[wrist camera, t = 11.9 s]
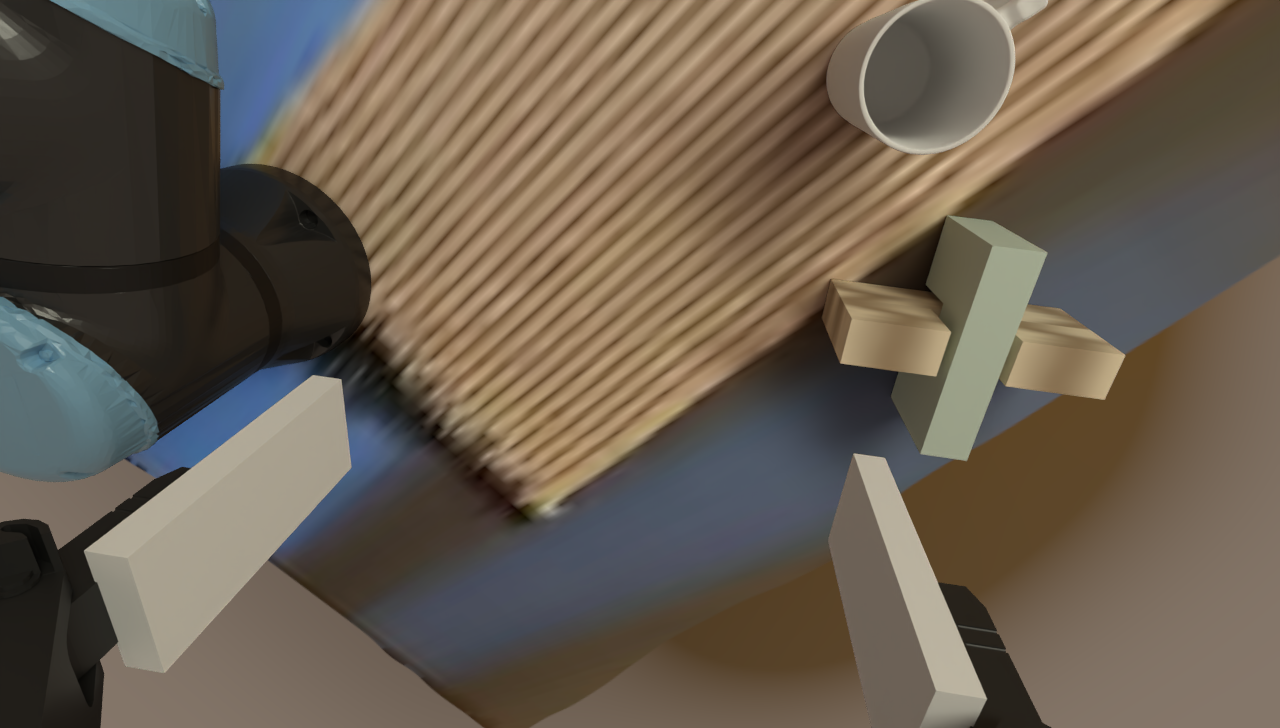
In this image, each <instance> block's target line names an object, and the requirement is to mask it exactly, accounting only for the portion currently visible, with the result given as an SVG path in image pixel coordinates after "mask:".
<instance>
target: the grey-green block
mask: <svg viewBox="0 0 1280 728" xmlns="http://www.w3.org/2000/svg"><path fill="white" fill-rule="evenodd" d="M1046 255H1047V252H1046V251H1044V250H1042V249H1040V248H1039V247H1037V246H1035V245H1033V244H1032V243H1030V242H1028V241H1026V240H1025V239H1023V238H1021V237H1019V236H1018V235H1016V234H1014V233H1012V232H1011V231H1009V230H1007V229H1005V228H1004V227H1002V226H1000V225H998V224H997V223H995V222H993V221H988V220H979V219H971V218H963V217H955V216H947V217H946V220H945V223H944V227H943V230H942V233H941V236H940V240H939V243H938V246H937V249H936V252H935V256H934V259H933V262H932V265H931V269H930V272H929V275H928V278H927V281H926V286H927V287H928V288H929V289H930V290H931V291H932V292H933V293H934V294H935V295H936V296H937V297H938V298H939V299H940V300H941V301H942V303H943V306H942V310H941V313H940V316H939V319H940V320H941V321H942V322H943V323H944V324H945V325H946V327H947V328H948V329H949V330H950V331H951V334H950V337H949V340H948V343H947V346H946V349H945V352H944V355H943V358H942V361H941V364H940V367H939V370H938V373H937V376H928V375H921V374H914V373H906V372H898V375H897V378H896V381H895V385H894V388H893V391H892V394H891V398H892V400H893V402H894V404H895V406H896V408H897V410H898V412H899V414H900V416H901V418H902V420H903V422H904V424H905V426H906V427H907V429H908V431H909V433H910V435H911V437H912V439H913V441H914V443H915V445H916V447H917V449H918V451H919V453H920V454H924V455H931V456H938V457H945V458H951V459H958V460H966V461H967V459H968V456H969V454H970V451H971V449H972V446H973V443H974V441H975V438H976V436H977V433H978V430H979V428H980V425H981V423H982V420H983V418H984V415H985V412H986V410H987V407H988V405H989V402H990V400H991V397H992V394H993V392H994V389H995V387H996V384H997V382H998V379H999V376H1000V374H1001V371H1002V369H1003V366H1004V364H1005V361H1006V358H1007V356H1008V353H1009V351H1010V348H1011V345H1012V343H1013V340H1014V338H1015V335H1016V333H1017V330H1018V327H1019V325H1020V322H1021V320H1022V317H1023V315H1024V312H1025V309H1026V307H1027V304H1028V302H1029V299H1030V297H1031V294H1032V291H1033V289H1034V286H1035V284H1036V281H1037V278H1038V276H1039V273H1040V271H1041V268H1042V266H1043V263H1044V260H1045V258H1046Z"/></svg>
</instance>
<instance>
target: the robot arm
mask: <svg viewBox="0 0 1280 728" xmlns="http://www.w3.org/2000/svg"><path fill="white" fill-rule="evenodd" d="M220 89H221V90H224V82H223V79H222V78H221V76H220V75H219V69H218V52H217V35H216V20H215V14H214V11H213V8H212V5H211V3H210V1H209V0H0V472H3V473H6V474H9V475H13V476H16V477H20V478H25V479H30V480H35V481H47V482H66V481H74V480H80V479H84V478H87V477H90V476H94V475H96V474H98V473H100V472H102V471H104V470H106V469H107V468H109V467H111V466H113V465H114V464H116V463H118V462H119V461H121V460H123V459H125V458H126V457H128V456H130V455H132V454H134V453H139V452H141V451H143V450H147V449H148V448H150V447H151V446H152V445H153V444H155V442H156V441H157V440H159V439H160V438H162V437H163V436H165V435H166V434H167V433H169V432H170V431H172V430H173V429H175V428H176V427H177V426H179V425H180V424H182V423H183V422H185V421H186V420H188V419H189V418H190V417H192V416H193V415H195V414H196V413H198V412H199V411H201V410H202V409H203V408H205V407H206V406H208V405H209V404H211V403H212V402H213V401H215V400H216V399H218V398H219V397H221V396H222V395H224V394H225V393H226V392H228V391H229V390H231V389H232V388H234V387H235V386H237V385H238V384H239V383H241V382H242V381H244V380H245V379H247V378H248V377H249V376H251V375H252V374H254V373H255V372H257V371H258V370H261V369H266V368H271V367H276V366H282V365H287V364H292V363H298V362H303V361H307V360H311V359H314V358H316V357H319V356H321V355H323V354H325V353H327V352H329V351H330V350H332V349H333V348H335V347H336V346H337V345H339V344H340V343H342V342H343V341H344V340H346V339H347V338H348V337H349V336H350V335H352V334H353V332H354V331H355V330H356V329H357V328H358V326H359V325H360V323H361V322H362V320H363V318H364V316H365V314H366V311H367V308H368V305H369V300H370V294H371V275H370V268H369V263H368V259H367V255H366V253H365V250H364V247H363V245H362V242H361V240H360V238H359V236H358V234H357V232H356V230H355V229H354V227H353V225H352V224H351V222H350V221H349V219H348V218H347V217H346V215H345V214H344V213H343V212H342V210H341V209H340V208H339V207H338V206H337V205H336V204H335V203H334V202H333V201H332V200H331V199H330V198H329V197H328V196H327V195H326V194H325V193H324V192H322V191H321V190H320V189H318V188H317V187H316V186H314V185H313V184H311V183H310V182H308V181H307V180H305V179H303V178H301V177H300V176H297V175H295V174H293V173H291V172H288V171H286V170H283V169H280V168H277V167H272V166H268V165H261V164H242V165H236V166H231V167H226V168H221V169H220ZM350 469H351V460H350V451H349V442H348V434H347V425H346V416H345V408H344V399H343V390H342V381H341V379H335V378H329V377H322V376H315V375H312V376H311V377H310V378H309V379H307V380H306V381H305V382H303V383H302V384H301V385H299V386H298V387H297V388H295V389H294V390H293V391H292V392H290V393H289V394H288V395H286V396H285V397H284V398H282V399H281V400H280V401H279V402H277V403H276V404H275V405H273V406H272V407H271V408H269V409H268V410H267V411H265V412H264V413H263V414H262V415H260V416H259V417H258V418H256V419H255V420H254V421H252V422H251V423H250V424H249V425H247V426H246V427H245V428H243V429H242V430H241V431H239V432H238V433H237V434H235V435H234V436H233V437H232V438H230V439H229V440H228V441H226V442H225V443H224V444H222V445H221V446H220V447H219V448H217V449H216V450H215V451H213V452H212V453H211V454H209V455H208V456H207V457H205V458H204V459H203V460H202V461H200V462H199V463H198V464H196V465H195V466H194V467H192V468H186V467H181V468H179V469H176V470H174V471H172V472H170V473H167V474H165V475H163V476H161V477H159V478H156V479H154V480H153V481H151V482H150V483H149V484H147V485H146V486H145V487H143V488H142V489H141V490H139V491H138V492H137V493H135V494H134V495H133V497H132V499H130V498H129V499H127V500H126V501H124V502H123V503H122V504H120V505H119V506H118V507H116V508H115V511H114V512H112V511H111V512H110V513H108V514H107V515H105V516H104V517H103V518H101V519H100V520H98V521H97V522H96V523H94V524H93V525H92V526H90V527H89V528H88V529H86V530H85V531H84V532H82V533H81V534H79V535H78V536H77V537H75V538H74V539H73V540H71V541H70V542H69V543H67V544H66V545H64V546H63V547H62V548H60V549H59V550H58V549H57V547H56V544H55V542H54V539H53V536H52V534H51V531H50V528H49V526H48V525H47V524H45V523H43V522H41V521H39V520H31V519H19V520H13V521H4V522H1V523H0V728H100V725H101V711H102V695H103V681H104V672H103V668H102V665H101V662H100V659H101V658H102V657H103V656H104V655H105V654H106V653H107V652H108V651H109V650H110V649H111V648H112V647H114V646H115V644H117V645H118V648H119V651H120V653H121V656H122V659H123V662H124V665H125V666H127V667H133V668H139V669H145V670H150V671H156V672H162V673H165V672H166V671H167V670H168V669H169V667H170V666H171V665H172V664H173V663H174V662H175V661H176V660H177V659H178V658H179V656H180V655H181V654H182V653H183V652H184V651H185V650H186V649H187V647H189V646H190V644H191V643H192V642H193V641H194V640H195V639H196V638H197V637H198V636H199V635H200V633H201V632H202V631H203V630H204V629H205V628H206V627H207V626H208V625H209V623H210V622H211V621H212V620H213V619H214V618H215V617H216V616H217V615H218V614H219V613H220V611H221V610H222V609H223V608H224V607H225V606H226V605H227V604H228V603H229V602H230V600H231V599H232V598H233V597H234V596H235V595H236V594H237V593H238V592H239V590H240V589H241V588H242V587H243V586H244V585H245V584H246V583H247V582H248V580H250V578H251V577H252V576H253V575H254V574H255V573H256V572H257V571H258V570H259V569H260V567H261V566H262V565H263V564H264V563H265V562H266V561H267V560H268V559H269V558H270V556H271V555H272V554H273V553H274V552H275V551H276V550H277V549H278V548H279V547H280V545H281V544H282V543H283V542H284V541H285V540H286V539H287V538H288V537H289V536H290V534H291V533H292V532H293V531H294V530H295V529H296V528H297V527H298V526H299V525H300V523H301V522H302V521H303V520H304V519H305V518H306V517H307V516H308V515H309V514H310V513H311V511H312V510H313V509H314V508H315V507H316V506H317V505H318V504H319V503H320V502H321V500H322V499H323V498H324V497H325V496H326V495H327V494H328V493H329V492H330V491H331V489H332V488H333V487H334V486H335V485H336V484H337V483H338V482H339V481H340V480H341V478H342V477H343V476H344V475H345V474H346V473H347V472H348V471H349V470H350ZM828 542H829V546H830V551H831V555H832V559H833V563H834V568H835V572H836V577H837V581H838V585H839V590H840V594H841V598H842V603H843V607H844V611H845V616H846V620H847V624H848V628H849V633H850V637H851V642H852V646H853V650H854V655H855V659H856V663H857V668H858V672H859V676H860V681H861V685H862V689H863V694H864V698H865V702H866V707H867V710H868V715H869V720H870V723H871V728H1051V727H1049V726H1047V725H1045V724H1044V723H1042V722H1041V719H1040V717H1039V715H1038V713H1037V711H1036V709H1035V707H1034V705H1033V703H1032V701H1031V699H1030V697H1029V695H1028V693H1027V691H1026V689H1025V687H1024V685H1023V683H1022V681H1021V678H1020V676H1019V674H1018V672H1017V670H1016V668H1015V666H1014V664H1013V662H1012V660H1011V658H1010V656H1009V654H1008V653H1006V651H1005V649H1006V648H1005V646H1004V644H1003V642H1002V640H1001V638H1000V636H999V635H998V634H997V633H996V631H997V630H996V628H995V626H994V624H993V622H992V620H991V618H990V615H989V614H988V611H987V609H986V608H985V607H984V605H983V604H982V603H981V602H980V601H979V600H978V599H977V598H976V597H975V596H974V595H973V594H972V593H971V592H970V591H969V590H968V589H967V588H966V587H965V586H958V585H951V584H944V583H938V582H937V580H936V578H935V575H934V573H933V570H932V568H931V566H930V563H929V561H928V559H927V556H926V554H925V552H924V549H923V547H922V545H921V542H920V540H919V537H918V535H917V533H916V530H915V528H914V526H913V523H912V521H911V519H910V516H909V514H908V511H907V509H906V507H905V504H904V502H903V500H902V497H901V495H900V492H899V490H898V488H897V485H896V483H895V481H894V478H893V476H892V474H891V471H890V469H889V466H888V464H887V462H886V459H885V458H882V457H875V456H868V455H861V454H854V453H853V457H852V460H851V464H850V467H849V470H848V474H847V477H846V481H845V484H844V487H843V491H842V494H841V498H840V501H839V505H838V508H837V511H836V515H835V518H834V522H833V525H832V528H831V532H830V535H829V539H828Z"/></svg>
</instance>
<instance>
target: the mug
mask: <svg viewBox="0 0 1280 728" xmlns="http://www.w3.org/2000/svg"><path fill="white" fill-rule="evenodd" d="M1047 4H1048V0H918V1H915V2H912V3H909V4H907V5H904V6H902V7H899V8H897V9H894V10H892V11H890V12H887V13H885V14H883V15H880V16H878V17H875V18H872V19H870V20H868V21H866V22H864V23H862V24H860V25H859V26H857V27H855V28H854V29H853V30H851V31H850V32H849V33H848V34H847V35H846V36H845V37H844V38H843V39H842V40H841V41H840V43H839V44H838V46H837V47H836V49H835V50H834V52H833V54H832V57H831V59H830V62H829V65H828V69H827V77H826V84H827V92H828V96H829V99H830V101H831V103H832V105H833V107H834V108H835V110H836V111H837V112H838V114H839V115H840V116H841V117H843V118H844V119H845V120H847V121H848V122H849V123H851V124H852V125H854V126H855V127H857V128H859V129H861V130H862V131H864V132H866V133H867V134H869V135H871V136H872V137H874V138H876V139H877V140H879V141H881V142H882V143H884V144H886V145H888V146H889V147H891V148H893V149H896V150H898V151H901V152H905V153H909V154H918V155H925V154H934V153H939V152H943V151H947V150H950V149H952V148H955V147H957V146H959V145H961V144H963V143H964V142H966V141H968V140H969V139H971V138H972V137H974V136H975V135H976V134H977V133H979V132H980V131H981V130H982V129H983V128H984V127H985V126H986V125H987V124H988V123H989V122H990V121H991V120H992V118H993V117H994V116H995V115H996V113H997V112H998V110H999V109H1000V107H1001V106H1002V104H1003V102H1004V100H1005V98H1006V96H1007V94H1008V91H1009V89H1010V86H1011V83H1012V79H1013V74H1014V68H1015V47H1014V42H1013V37H1012V34H1011V31H1010V30H1011V29H1012V28H1014V27H1015V26H1016V25H1018V24H1019V23H1021V22H1023V21H1025V20H1027V19H1029V18H1031V17H1032V16H1034V15H1035V14H1037V13H1038V12H1040V11H1041V10H1043V9H1044V8H1045V7H1046V6H1047Z"/></svg>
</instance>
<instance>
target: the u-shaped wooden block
mask: <svg viewBox="0 0 1280 728" xmlns="http://www.w3.org/2000/svg"><path fill="white" fill-rule="evenodd" d="M942 306H943V303H942V301H941V300H940V299H939V298H938V297H937V296H936V295H935V294H934V293H933V292H928V291H921V290H913V289H905V288H897V287H890V286H882V285H874V284H867V283H859V282H851V281H844V280H836V279H831V281H830V285H829V289H828V293H827V297H826V302H825V306H824V310H823V314H822V320H823V322H824V325H825V327H826V330H827V332H828V335H829V337H830V340H831V342H832V344H833V347H834V349H835V352H836V354H837V357H838V359H839V362H840V363H841V364H848V365H856V366H863V367H870V368H877V369H885V370H892V371H899V372H906V373H914V374H921V375H928V376H937V373H938V370H939V367H940V364H941V361H942V358H943V355H944V352H945V349H946V346H947V343H948V340H949V337H950V334H951V331H950V330H949V329H948V328H947V327H946V325H945V324H944V323H943V322H942V321H941V320H940V319H939V316H940V313H941V310H942ZM1124 357H1125V355H1124V354H1123V353H1122V352H1120V351H1119V350H1117V349H1116V348H1115V347H1113V346H1112V345H1110V344H1109V343H1108V342H1106V341H1105V340H1103V339H1102V338H1101V337H1099V336H1098V335H1096V334H1095V333H1094V332H1092V331H1091V330H1089V329H1088V328H1087V327H1085V326H1084V325H1082V324H1081V323H1080V322H1078V321H1077V320H1075V319H1074V318H1073V317H1071V316H1070V315H1068V314H1067V313H1066V312H1064V311H1063V310H1061V309H1059V308H1051V307H1044V306H1036V305H1028V304H1027V307H1026V309H1025V312H1024V315H1023V317H1022V320H1021V322H1020V325H1019V327H1018V330H1017V333H1016V335H1015V338H1014V340H1013V343H1012V345H1011V348H1010V351H1009V353H1008V356H1007V358H1006V361H1005V364H1004V366H1003V369H1002V371H1001V374H1000V376H999V379H1000V380H1001V382H1002V383H1003V384H1004V385H1005V386H1008V387H1016V388H1023V389H1030V390H1038V391H1045V392H1052V393H1059V394H1067V395H1075V396H1081V397H1089V398H1096V399H1103V400H1104V399H1105V397H1106V395H1107V393H1108V391H1109V389H1110V387H1111V384H1112V382H1113V380H1114V378H1115V376H1116V374H1117V372H1118V370H1119V368H1120V366H1121V363H1122V361H1123V359H1124Z"/></svg>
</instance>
